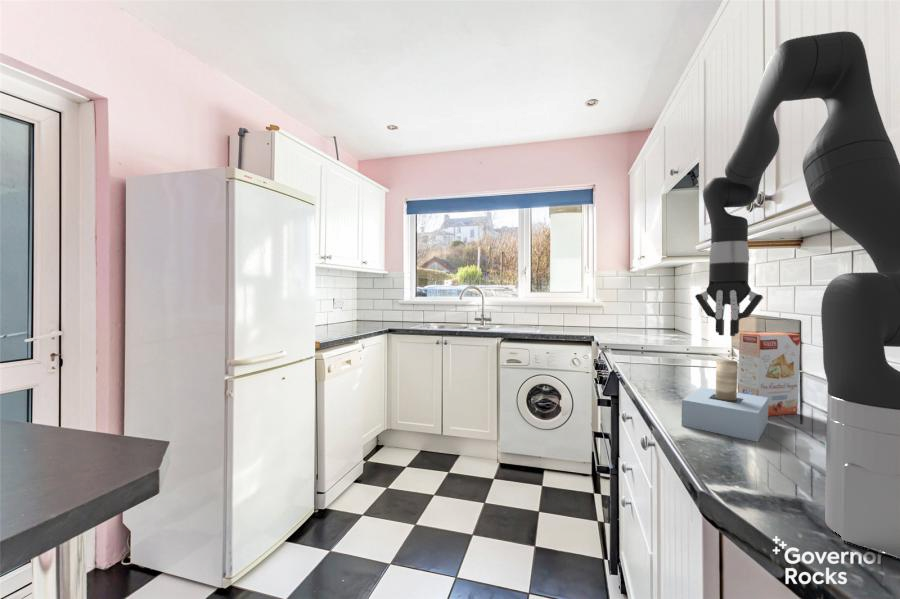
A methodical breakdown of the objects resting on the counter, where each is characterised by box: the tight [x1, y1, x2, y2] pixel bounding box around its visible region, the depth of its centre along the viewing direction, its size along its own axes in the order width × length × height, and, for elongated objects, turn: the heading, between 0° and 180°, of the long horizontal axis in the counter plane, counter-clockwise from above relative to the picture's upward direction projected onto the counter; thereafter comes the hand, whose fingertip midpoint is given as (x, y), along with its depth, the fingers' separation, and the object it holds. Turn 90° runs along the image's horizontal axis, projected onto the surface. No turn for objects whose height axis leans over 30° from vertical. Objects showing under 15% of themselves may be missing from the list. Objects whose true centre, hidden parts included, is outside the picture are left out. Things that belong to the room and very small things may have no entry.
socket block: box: [681, 386, 769, 442], centre depth 92 cm, size 18×14×6 cm
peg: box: [715, 358, 738, 403], centre depth 92 cm, size 4×4×14 cm
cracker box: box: [737, 331, 801, 417], centre depth 101 cm, size 14×6×21 cm, turn 105°
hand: (727, 335), depth 92 cm, fingers closed
